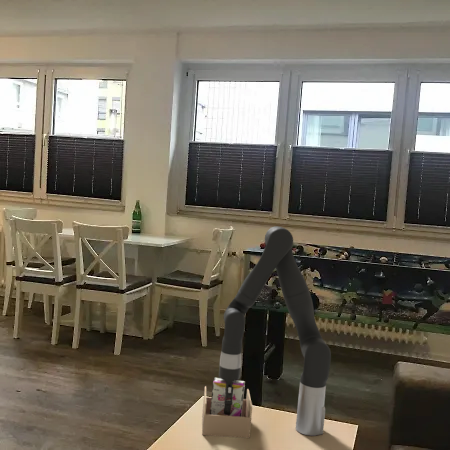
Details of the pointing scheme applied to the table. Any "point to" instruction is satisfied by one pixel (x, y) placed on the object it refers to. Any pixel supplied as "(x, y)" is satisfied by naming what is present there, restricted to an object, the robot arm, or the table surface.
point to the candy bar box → (218, 398)
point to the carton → (227, 420)
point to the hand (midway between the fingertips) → (226, 409)
